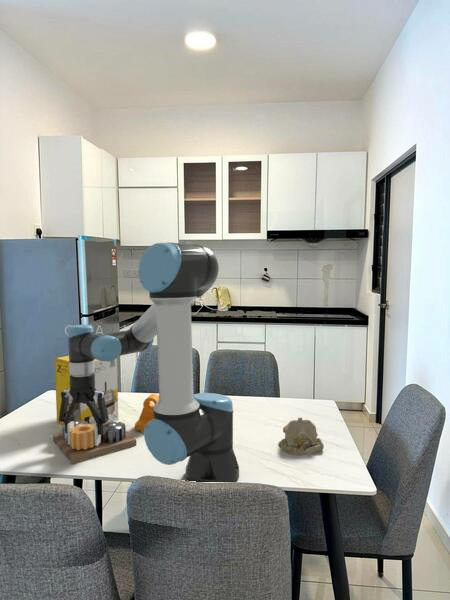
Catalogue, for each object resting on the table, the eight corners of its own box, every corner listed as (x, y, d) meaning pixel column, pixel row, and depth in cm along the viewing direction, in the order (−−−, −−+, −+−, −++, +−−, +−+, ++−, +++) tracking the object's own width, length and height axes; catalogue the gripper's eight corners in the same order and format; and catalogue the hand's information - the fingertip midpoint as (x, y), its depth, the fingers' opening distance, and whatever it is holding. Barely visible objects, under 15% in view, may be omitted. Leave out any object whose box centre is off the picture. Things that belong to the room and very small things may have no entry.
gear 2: (129, 439, 133) (129, 425, 133) (105, 445, 128) (104, 431, 128) (119, 430, 140) (119, 417, 139) (96, 437, 135) (95, 423, 134)
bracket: (134, 431, 144) (133, 399, 143) (141, 424, 151) (140, 393, 150) (162, 433, 143) (162, 400, 142) (168, 425, 150) (168, 394, 149)
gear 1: (92, 437, 135) (91, 416, 134) (66, 443, 130) (65, 422, 129) (83, 429, 142) (83, 409, 141) (59, 435, 136) (58, 415, 136)
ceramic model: (281, 455, 126) (281, 424, 125) (277, 440, 137) (277, 411, 136) (326, 455, 125) (326, 424, 125) (318, 440, 137) (318, 411, 136)
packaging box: (81, 433, 143) (79, 364, 141) (56, 422, 153) (54, 358, 151) (118, 419, 156) (116, 356, 154) (93, 410, 166) (91, 351, 164)
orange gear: (90, 450, 124) (90, 434, 123) (65, 449, 125) (64, 433, 124) (102, 439, 132) (102, 424, 131) (78, 437, 133) (78, 423, 132)
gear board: (136, 445, 133) (136, 427, 133) (71, 464, 120) (71, 444, 120) (112, 425, 150) (111, 410, 149) (53, 440, 137) (52, 423, 136)
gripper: (118, 371, 129) (120, 440, 131) (57, 369, 132) (59, 436, 133) (109, 378, 121) (111, 450, 123) (44, 375, 124) (47, 446, 126)
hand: (84, 443), depth 128 cm, fingers closed on orange gear, 8 cm apart
